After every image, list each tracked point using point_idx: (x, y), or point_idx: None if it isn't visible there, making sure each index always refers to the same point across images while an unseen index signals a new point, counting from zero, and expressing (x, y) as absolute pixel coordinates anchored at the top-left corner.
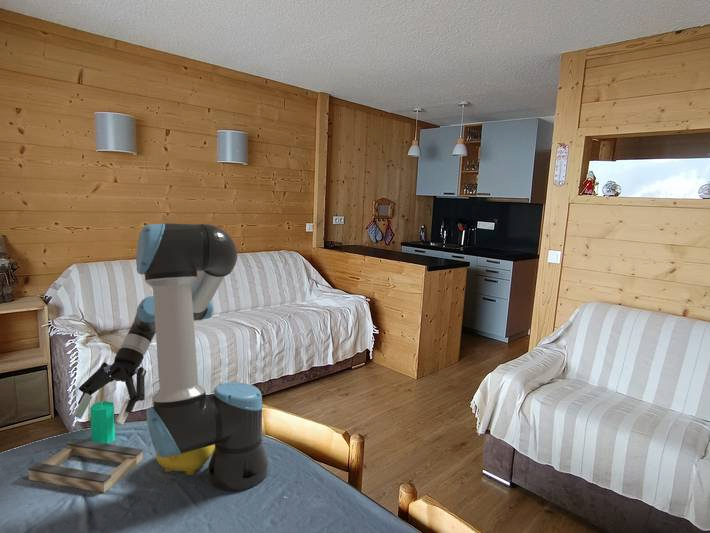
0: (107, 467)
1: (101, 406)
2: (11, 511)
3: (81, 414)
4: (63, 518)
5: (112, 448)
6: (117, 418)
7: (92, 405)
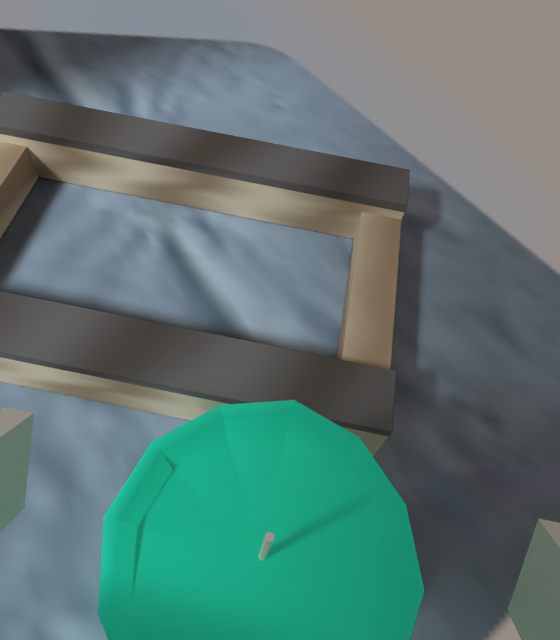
0: (75, 289)
1: (282, 577)
2: (310, 84)
3: (530, 616)
4: (119, 55)
5: (53, 324)
6: (9, 426)
7: (415, 566)
